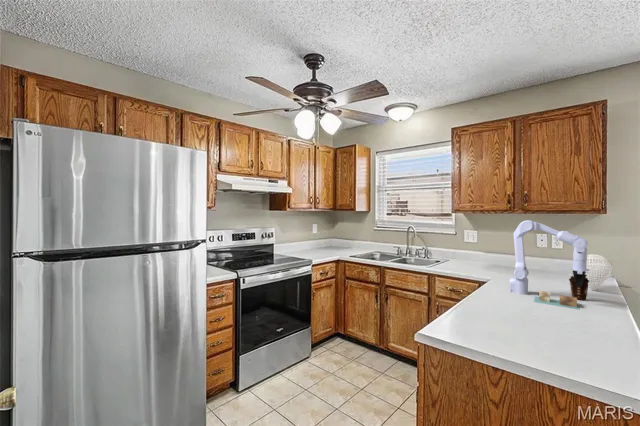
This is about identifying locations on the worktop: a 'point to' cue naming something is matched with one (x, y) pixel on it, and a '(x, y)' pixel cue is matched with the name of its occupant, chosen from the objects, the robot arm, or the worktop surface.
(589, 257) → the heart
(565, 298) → the walnut block
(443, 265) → the worktop surface
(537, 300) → the build board
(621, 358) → the worktop surface
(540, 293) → the maple block
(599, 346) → the worktop surface
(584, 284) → the coffee cup
